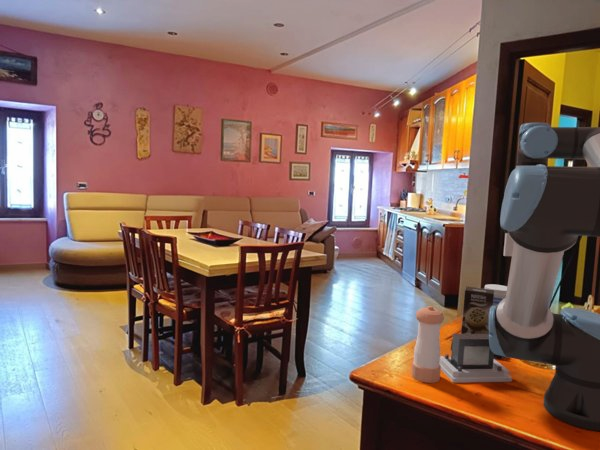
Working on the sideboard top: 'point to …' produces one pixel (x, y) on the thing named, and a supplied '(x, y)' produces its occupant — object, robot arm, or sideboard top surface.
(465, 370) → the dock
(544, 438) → the sideboard top surface
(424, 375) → the salt shaker
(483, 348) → the grey plastic case
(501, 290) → the supplement tub
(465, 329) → the dark cardboard box
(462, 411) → the sideboard top surface
